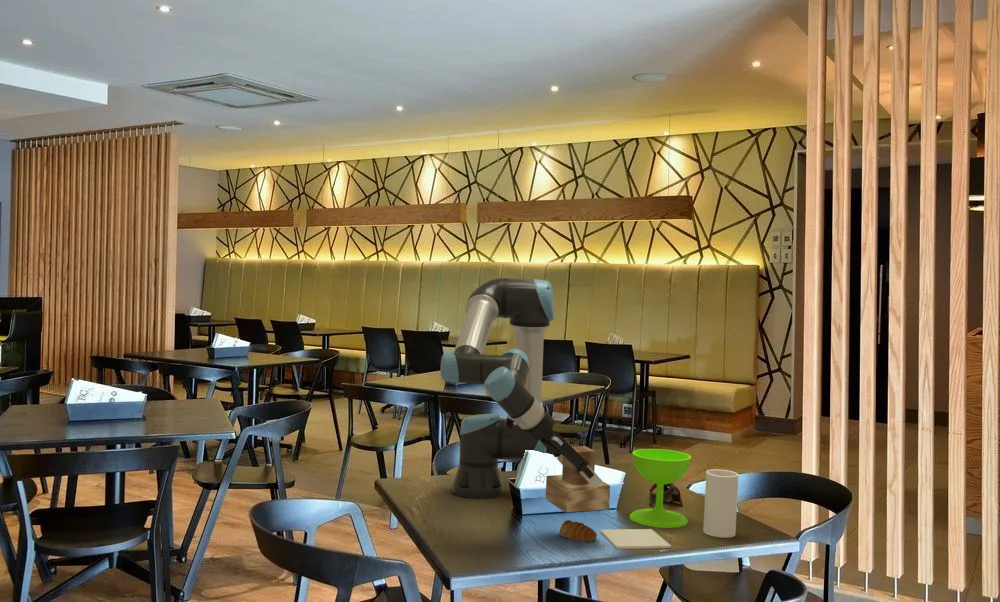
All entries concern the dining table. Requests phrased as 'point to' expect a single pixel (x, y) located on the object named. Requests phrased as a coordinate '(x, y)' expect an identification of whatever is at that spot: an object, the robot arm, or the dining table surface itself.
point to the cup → (720, 503)
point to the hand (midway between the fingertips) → (587, 478)
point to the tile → (634, 539)
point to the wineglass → (660, 484)
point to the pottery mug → (666, 494)
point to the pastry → (577, 531)
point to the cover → (577, 487)
